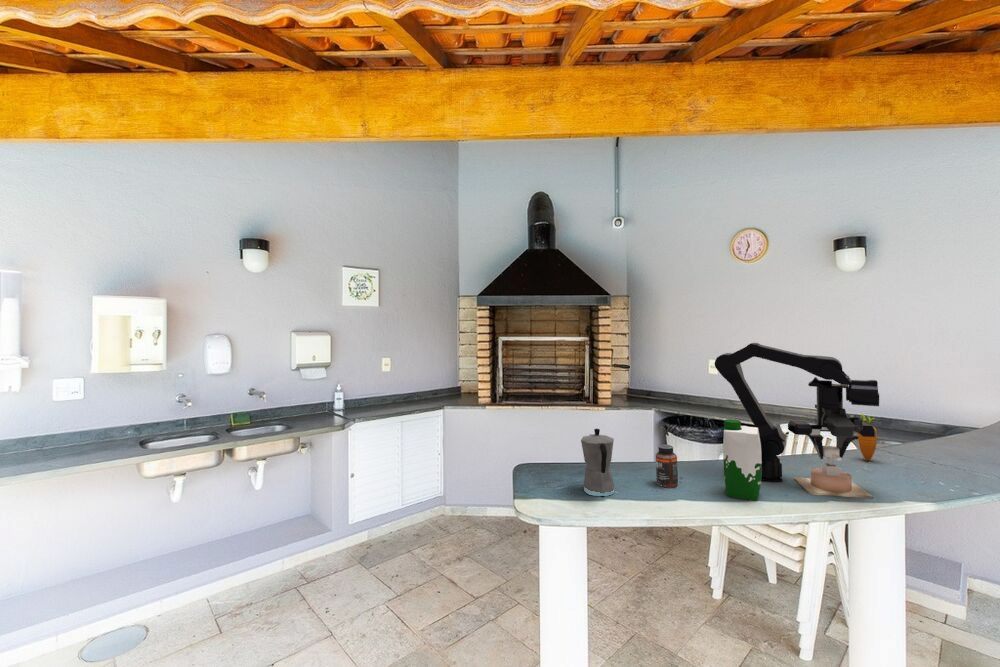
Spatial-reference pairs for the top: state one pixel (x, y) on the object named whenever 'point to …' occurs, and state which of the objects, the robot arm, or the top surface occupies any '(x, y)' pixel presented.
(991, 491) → the top surface
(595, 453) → the coffeepot
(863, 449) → the carrot
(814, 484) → the soap jar
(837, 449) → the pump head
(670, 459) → the supplement bottle
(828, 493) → the birch board
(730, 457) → the milk carton
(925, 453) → the top surface
